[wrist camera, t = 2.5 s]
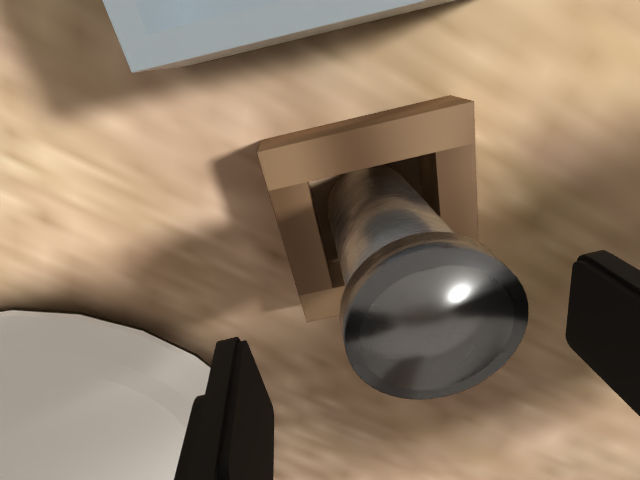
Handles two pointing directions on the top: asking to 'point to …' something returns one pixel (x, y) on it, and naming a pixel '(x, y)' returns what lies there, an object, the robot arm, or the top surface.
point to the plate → (91, 398)
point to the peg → (418, 292)
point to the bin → (232, 25)
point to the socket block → (359, 153)
